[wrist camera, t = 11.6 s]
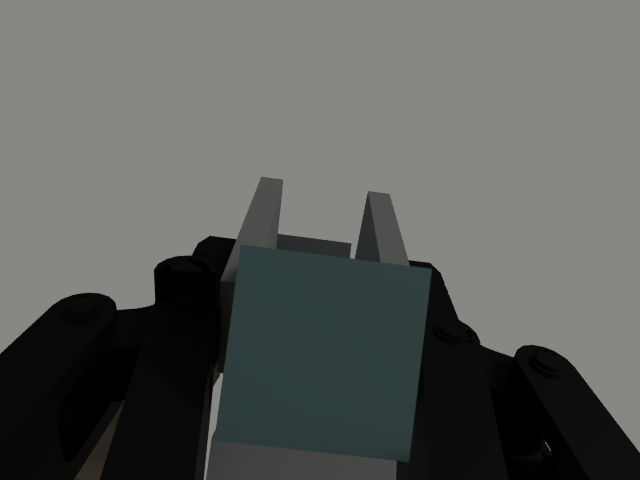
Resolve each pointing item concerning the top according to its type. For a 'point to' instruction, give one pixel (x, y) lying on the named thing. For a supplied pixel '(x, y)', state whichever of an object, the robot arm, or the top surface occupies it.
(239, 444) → the stand
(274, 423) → the teal bar
